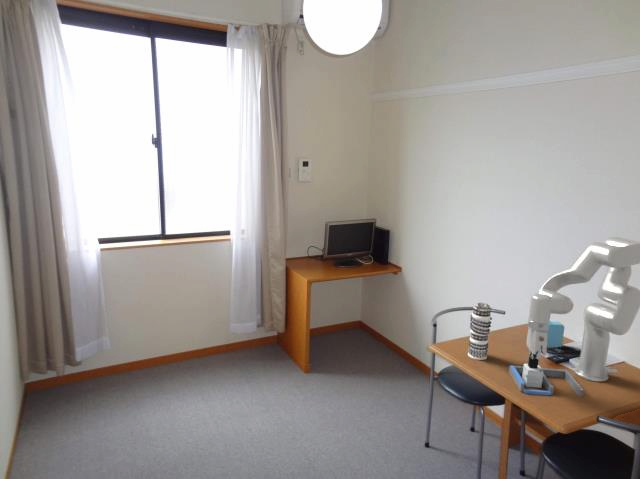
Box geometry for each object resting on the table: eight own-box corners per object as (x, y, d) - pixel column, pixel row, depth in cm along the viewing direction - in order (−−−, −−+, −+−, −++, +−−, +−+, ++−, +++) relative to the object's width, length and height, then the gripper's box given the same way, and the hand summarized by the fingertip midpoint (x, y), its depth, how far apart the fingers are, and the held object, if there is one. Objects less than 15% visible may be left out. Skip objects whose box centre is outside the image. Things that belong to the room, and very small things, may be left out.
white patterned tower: (473, 349, 212) (477, 299, 207) (491, 356, 206) (496, 305, 201) (463, 354, 206) (467, 303, 201) (481, 362, 200) (487, 309, 195)
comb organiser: (566, 376, 188) (567, 368, 187) (583, 398, 172) (585, 389, 171) (508, 371, 191) (509, 364, 190) (520, 392, 175) (521, 384, 174)
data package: (557, 344, 221) (560, 321, 218) (561, 348, 216) (565, 324, 214) (533, 343, 221) (535, 320, 219) (537, 347, 217) (540, 324, 214)
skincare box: (521, 379, 185) (523, 363, 184) (536, 380, 184) (538, 364, 183) (526, 386, 179) (528, 370, 178) (541, 388, 179) (544, 371, 177)
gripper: (555, 332, 169) (549, 377, 173) (541, 318, 184) (536, 359, 187) (534, 331, 170) (528, 375, 174) (522, 317, 185) (517, 358, 188)
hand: (532, 367), depth 180 cm, fingers closed
